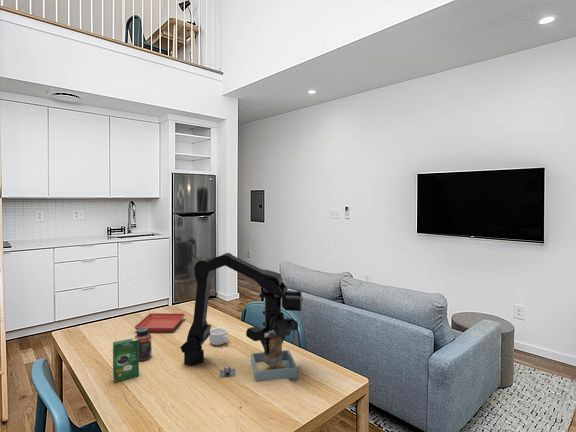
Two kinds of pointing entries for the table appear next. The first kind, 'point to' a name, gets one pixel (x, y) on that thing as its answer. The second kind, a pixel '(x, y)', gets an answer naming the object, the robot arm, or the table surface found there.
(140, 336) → the supplement bottle
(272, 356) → the strut
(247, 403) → the table surface
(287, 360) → the bin
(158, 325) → the plant saucer
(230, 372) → the knob on square plate
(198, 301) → the robot arm
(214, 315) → the table surface
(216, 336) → the teacup
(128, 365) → the coffee box
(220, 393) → the table surface
